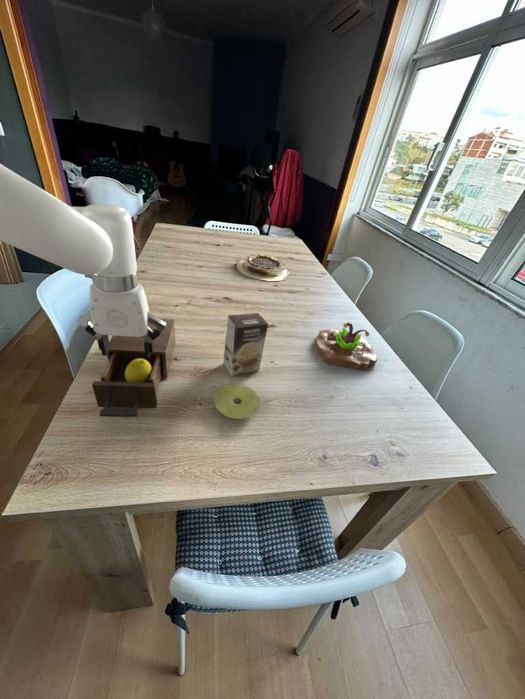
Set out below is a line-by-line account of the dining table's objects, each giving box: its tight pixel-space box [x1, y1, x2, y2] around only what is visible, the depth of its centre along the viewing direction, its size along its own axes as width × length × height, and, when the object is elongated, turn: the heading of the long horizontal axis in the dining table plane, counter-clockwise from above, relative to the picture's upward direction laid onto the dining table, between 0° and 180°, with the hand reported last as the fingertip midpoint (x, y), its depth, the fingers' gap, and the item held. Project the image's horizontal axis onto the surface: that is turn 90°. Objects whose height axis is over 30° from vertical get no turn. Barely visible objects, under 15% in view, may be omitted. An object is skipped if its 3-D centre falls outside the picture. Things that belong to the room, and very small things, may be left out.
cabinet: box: [106, 317, 176, 379], centre depth 79 cm, size 16×14×9 cm
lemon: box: [125, 359, 151, 383], centre depth 68 cm, size 6×6×8 cm
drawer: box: [91, 353, 163, 418], centre depth 68 cm, size 20×13×7 cm, turn 6°
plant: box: [314, 321, 378, 371], centre depth 96 cm, size 20×20×11 cm
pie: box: [236, 253, 292, 282], centre depth 147 cm, size 28×27×5 cm
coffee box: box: [222, 312, 269, 377], centre depth 80 cm, size 9×6×16 cm
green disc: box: [213, 384, 261, 420], centre depth 72 cm, size 11×11×2 cm
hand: (127, 352), depth 64 cm, fingers open, 8 cm apart
